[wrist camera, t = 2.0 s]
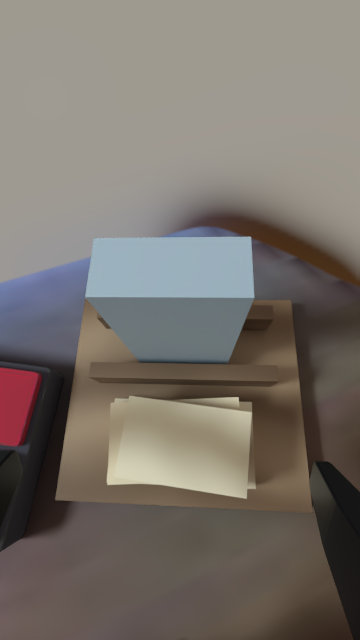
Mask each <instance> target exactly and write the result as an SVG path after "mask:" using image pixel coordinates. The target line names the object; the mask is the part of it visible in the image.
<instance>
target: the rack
mask: <svg viewBox="0 0 360 640" xmlns="http://www.w3.org/2000/svg"><path fill="white" fill-rule="evenodd" d="M129 396H135V397H143V398H150V399H157V400H183V399H205V398H227V397H239V402H252V419H253V440H254V461H255V483H256V489H247V499H244V498H238V497H232V496H226V495H220V494H214V493H208V492H202V491H196V490H190V489H184V488H177V487H171V486H165V485H155V484H120V485H107V483H108V482H107V472H108V458H109V432H110V406H111V403H115V398H119V399H129ZM55 500H63V501H83V502H103V503H124V504H144V505H164V506H185V507H205V508H225V509H245V510H266V511H286V512H306V513H313V512H312V502H311V492H310V486H309V472H308V462H307V452H306V443H305V433H304V423H303V413H302V403H301V393H300V383H299V373H298V364H297V354H296V344H295V334H294V324H293V314H292V304H291V300H253V302H252V305H251V307H250V310H249V312H248V315H247V317H246V320H245V322H244V325H243V327H242V329H241V332H240V334H239V337H238V339H237V342H236V344H235V347H234V349H233V352H232V354H231V357H230V359H229V362H228V364H176V363H140V362H139V361H138V360H137V358H136V357H135V356H134V355H133V354H132V352H131V351H130V350H129V349H128V348H127V346H126V345H125V344H124V343H123V342H122V340H121V339H120V338H119V337H118V336H117V335H116V333H115V332H114V331H113V330H112V329H111V327H110V326H109V325H108V324H107V323H106V321H105V320H104V319H103V318H102V317H101V315H100V314H99V313H98V312H97V311H96V309H95V308H94V307H93V306H92V305H91V303H90V302H89V301H88V300H87V299H85V304H84V311H83V318H82V324H81V331H80V337H79V344H78V351H77V357H76V364H75V371H74V377H73V384H72V391H71V397H70V404H69V411H68V417H67V424H66V431H65V437H64V444H63V451H62V457H61V464H60V471H59V477H58V484H57V491H56V497H55Z"/></svg>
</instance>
